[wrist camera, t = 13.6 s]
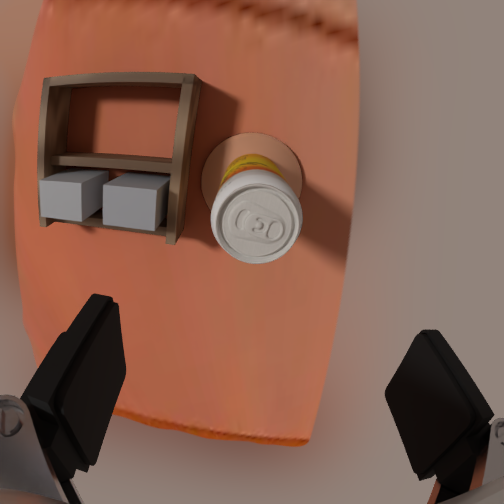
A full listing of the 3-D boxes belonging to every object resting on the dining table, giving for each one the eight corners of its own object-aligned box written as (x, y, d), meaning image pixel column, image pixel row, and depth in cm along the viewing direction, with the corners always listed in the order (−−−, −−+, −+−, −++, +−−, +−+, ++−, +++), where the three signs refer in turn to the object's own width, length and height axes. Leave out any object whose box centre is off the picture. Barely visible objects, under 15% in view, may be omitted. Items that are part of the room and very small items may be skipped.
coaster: (208, 126, 31) (208, 126, 31) (309, 142, 32) (310, 142, 32) (197, 221, 36) (196, 223, 35) (290, 235, 37) (291, 236, 36)
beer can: (234, 145, 32) (226, 164, 18) (288, 164, 33) (320, 198, 19) (216, 197, 34) (197, 253, 20) (268, 214, 35) (283, 280, 21)
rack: (66, 80, 28) (43, 78, 23) (201, 80, 29) (194, 74, 25) (60, 213, 35) (40, 226, 30) (183, 228, 36) (175, 245, 31)
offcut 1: (70, 167, 32) (39, 180, 26) (109, 170, 33) (81, 183, 26) (70, 199, 34) (41, 216, 28) (108, 202, 34) (81, 221, 28)
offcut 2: (128, 171, 33) (103, 184, 27) (173, 176, 33) (156, 190, 27) (126, 204, 35) (102, 224, 28) (170, 210, 35) (154, 231, 29)
